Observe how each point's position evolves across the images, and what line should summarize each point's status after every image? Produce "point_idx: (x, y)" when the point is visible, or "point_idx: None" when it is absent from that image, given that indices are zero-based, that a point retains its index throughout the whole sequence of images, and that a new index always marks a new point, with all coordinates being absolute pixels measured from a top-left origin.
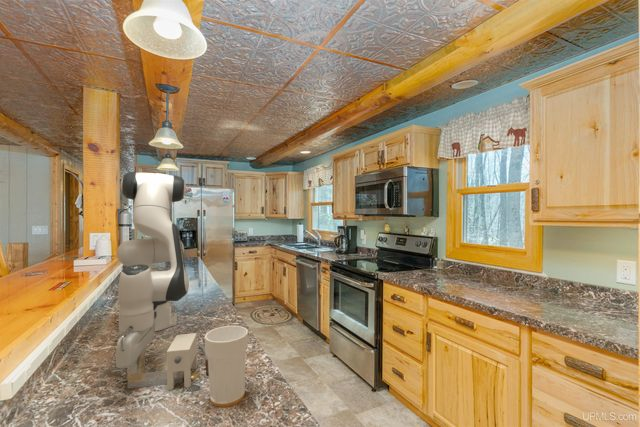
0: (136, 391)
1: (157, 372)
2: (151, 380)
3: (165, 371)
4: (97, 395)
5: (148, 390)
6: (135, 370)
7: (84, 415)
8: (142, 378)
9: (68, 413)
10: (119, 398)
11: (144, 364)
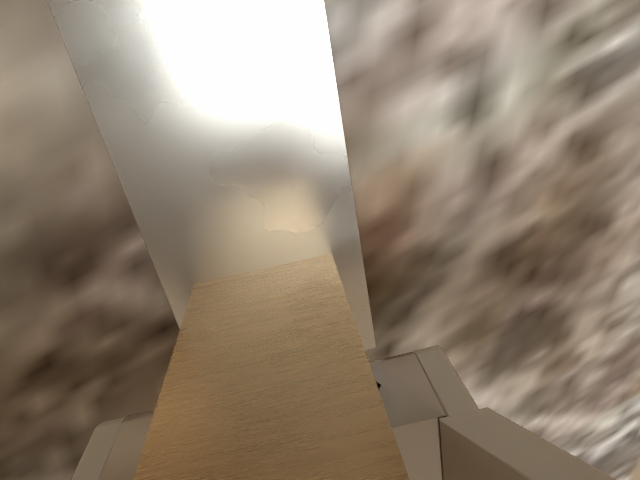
0: (414, 218)
1: (141, 150)
2: (342, 126)
3: (92, 37)
4: None
5: (414, 105)
6: (454, 372)
7: (634, 381)
8: (291, 260)
9: None
10: (495, 294)
11: (193, 367)
